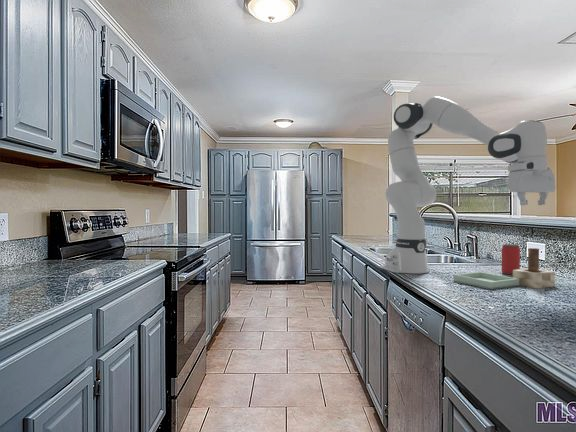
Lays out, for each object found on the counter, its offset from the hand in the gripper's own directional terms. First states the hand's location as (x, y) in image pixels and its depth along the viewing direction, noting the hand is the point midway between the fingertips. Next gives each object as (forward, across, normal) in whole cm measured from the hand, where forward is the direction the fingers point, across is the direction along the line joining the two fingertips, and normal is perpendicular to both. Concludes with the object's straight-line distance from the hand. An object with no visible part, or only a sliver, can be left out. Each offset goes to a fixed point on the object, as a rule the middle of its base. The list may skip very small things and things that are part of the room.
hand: (532, 205), depth 134 cm
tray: (+28, +12, -10) cm, 32 cm away
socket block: (+28, -1, -1) cm, 28 cm away
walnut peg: (+28, -1, -1) cm, 28 cm away
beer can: (+28, -14, -20) cm, 37 cm away
